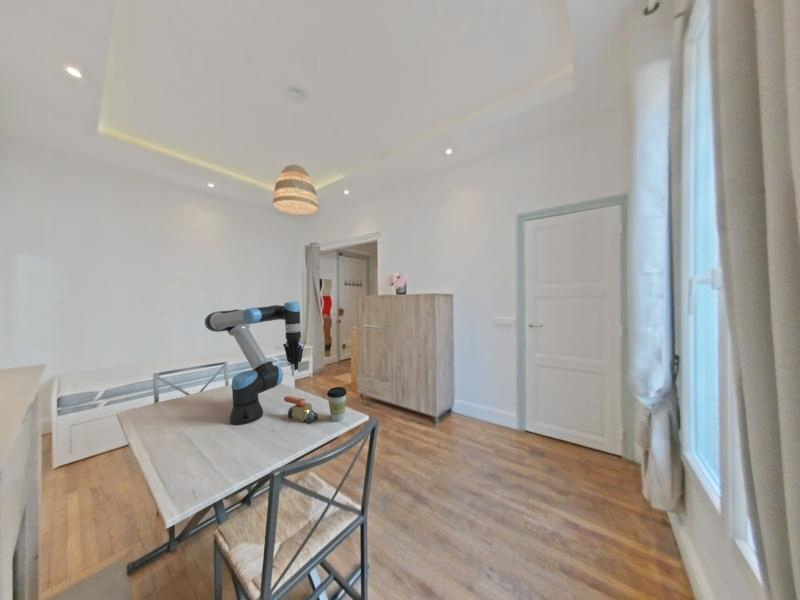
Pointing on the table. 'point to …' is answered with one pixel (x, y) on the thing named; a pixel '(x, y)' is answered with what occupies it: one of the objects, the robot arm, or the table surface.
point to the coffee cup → (337, 403)
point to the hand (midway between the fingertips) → (294, 375)
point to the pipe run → (303, 413)
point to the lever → (295, 400)
